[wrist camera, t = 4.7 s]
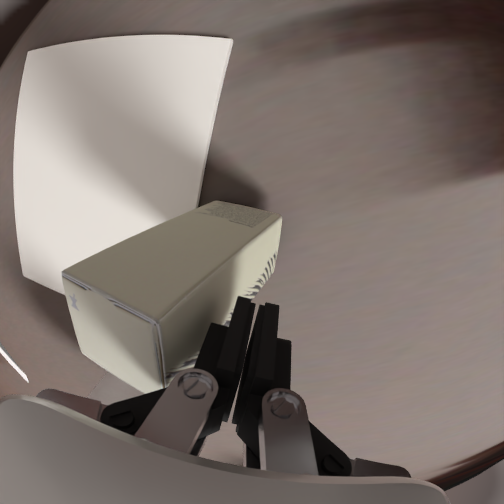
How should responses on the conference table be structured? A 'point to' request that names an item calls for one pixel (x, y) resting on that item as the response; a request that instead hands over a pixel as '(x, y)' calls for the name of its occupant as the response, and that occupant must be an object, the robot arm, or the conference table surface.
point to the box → (169, 289)
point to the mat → (110, 142)
